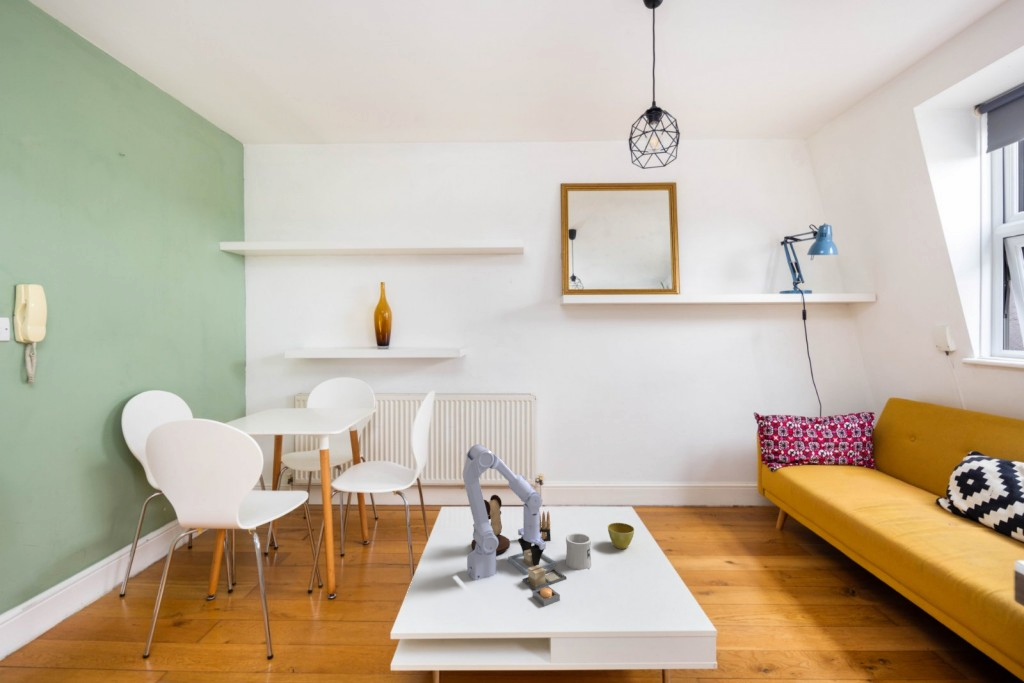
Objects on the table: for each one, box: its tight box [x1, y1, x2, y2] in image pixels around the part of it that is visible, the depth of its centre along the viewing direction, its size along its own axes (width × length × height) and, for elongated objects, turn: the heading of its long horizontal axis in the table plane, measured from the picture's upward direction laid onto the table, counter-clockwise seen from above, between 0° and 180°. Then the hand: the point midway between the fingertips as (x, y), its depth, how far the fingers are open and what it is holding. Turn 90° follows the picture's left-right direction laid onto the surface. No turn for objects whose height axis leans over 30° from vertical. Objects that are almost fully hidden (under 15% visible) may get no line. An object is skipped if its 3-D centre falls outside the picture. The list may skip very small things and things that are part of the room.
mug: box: [565, 532, 592, 571], centre depth 166 cm, size 12×9×10 cm
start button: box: [540, 588, 552, 599], centre depth 142 cm, size 4×4×3 cm
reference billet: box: [527, 564, 546, 587], centre depth 151 cm, size 4×4×5 cm
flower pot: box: [607, 522, 635, 550], centre depth 180 cm, size 10×10×7 cm
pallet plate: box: [522, 568, 567, 591], centre depth 153 cm, size 14×9×2 cm, turn 122°
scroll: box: [470, 494, 511, 555], centre depth 177 cm, size 15×15×20 cm
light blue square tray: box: [507, 551, 557, 576], centre depth 165 cm, size 12×12×2 cm
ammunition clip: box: [540, 510, 552, 542], centre depth 184 cm, size 11×2×12 cm, turn 90°
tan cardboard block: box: [523, 549, 533, 567], centre depth 164 cm, size 4×4×5 cm
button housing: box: [531, 585, 561, 608], centre depth 142 cm, size 6×6×3 cm
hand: (531, 561), depth 164 cm, fingers open, 5 cm apart
